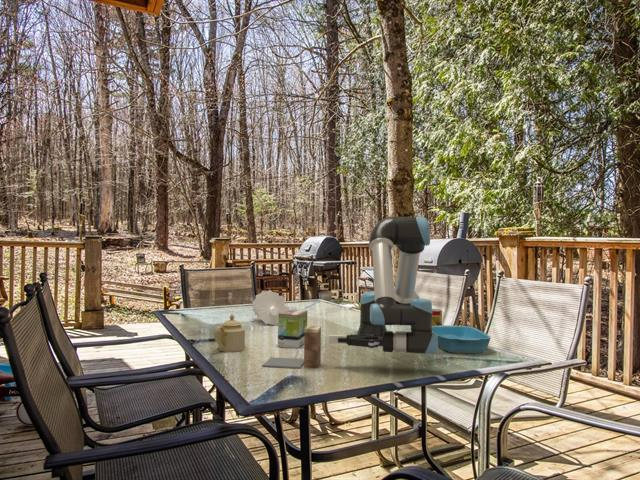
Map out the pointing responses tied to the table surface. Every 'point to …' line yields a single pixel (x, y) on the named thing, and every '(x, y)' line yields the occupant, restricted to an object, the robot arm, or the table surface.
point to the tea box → (291, 328)
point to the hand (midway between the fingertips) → (329, 338)
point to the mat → (284, 363)
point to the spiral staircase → (269, 307)
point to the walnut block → (312, 346)
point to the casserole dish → (461, 339)
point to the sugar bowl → (230, 336)
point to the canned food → (436, 317)
